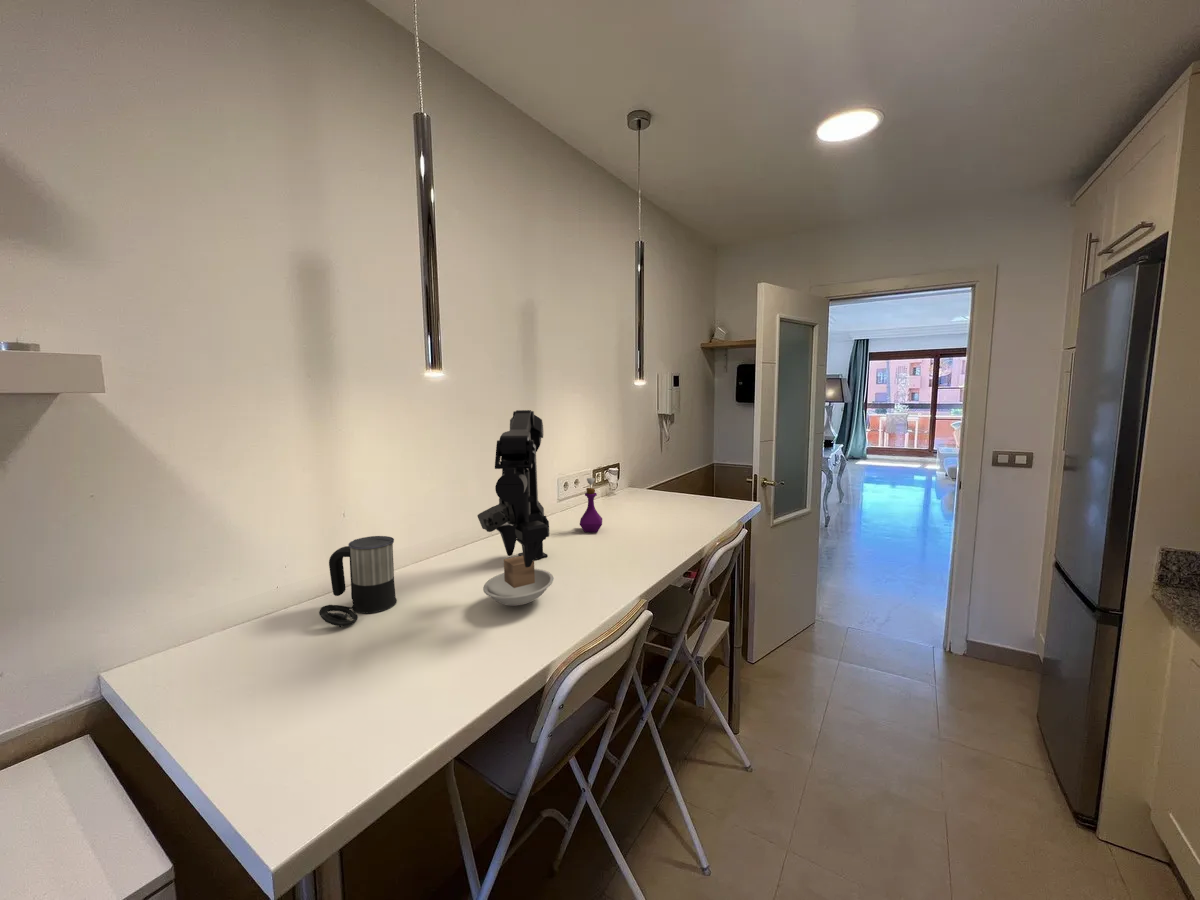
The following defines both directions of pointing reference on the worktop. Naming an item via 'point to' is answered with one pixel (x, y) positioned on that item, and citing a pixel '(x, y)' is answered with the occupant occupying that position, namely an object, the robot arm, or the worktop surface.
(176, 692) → the worktop surface
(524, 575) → the walnut block
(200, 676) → the worktop surface
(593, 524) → the perfume bottle
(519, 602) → the dish
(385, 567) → the milk frother
